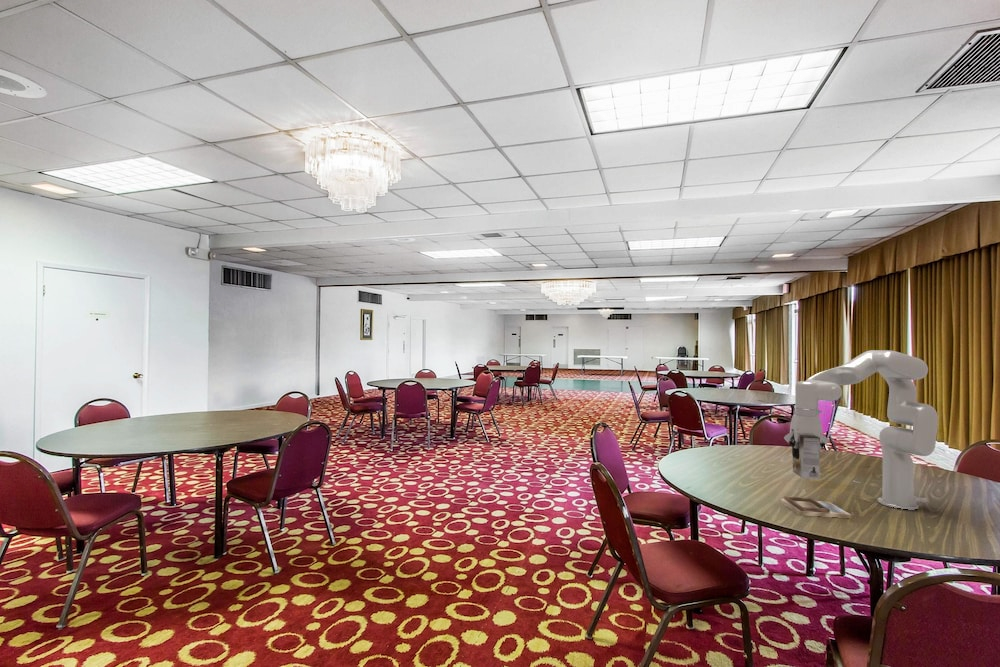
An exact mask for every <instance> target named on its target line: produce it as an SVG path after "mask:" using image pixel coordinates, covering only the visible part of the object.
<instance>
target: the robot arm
mask: <svg viewBox="0 0 1000 667" xmlns="http://www.w3.org/2000/svg"><path fill="white" fill-rule="evenodd" d="M928 372H929V367H928V364H927V363H926V362H925V361H924V360H922V359H921V358H919V357H915V356H912V355H909V354H905V353H902V352H899V351H895V350H888V349H887V350H882V349H881V350H877V349H876V350H875V349H872V350H867V351H864V352H862V353H861V354H859V355H857V356H855V357H854V358H852V359H850V360H849V361H847V362H845V363H844V364H842V365H840V366H839V365H838V366H836V367H833V368H829V369H826V370H823V371H820V372H817V373H816V374H813V375H812V376H810V377H809V378H807V379H806V380H805V381H804V380H800V381H799V380H798V381H797V382H795V408H794V410H795V411H794V412H795V413H794V414H793V415H792V417H791V420H790V427H789V433H787V434H786V435H784V437H783V439H784V440H785V441H786V442H787V443H788V444H789V446H790V447H791V449H792V450H791V456H792V458H793V457H794V458H796V459H799V449H798V446H799V442H800V435H806V436H818V437H820V451H821V450H822V448H824V447H825V446H826V444H828V443H829V442H830V440H829V439H828V437H827V436H825V435H824V434H823V425H822V421H821V417H819V415H822V414H823V411H822V410H819V401H825V402H834V401H835V402H836V401H837V400H839V399H840V398H841V396H842V395H843V389H842V388H841V386H850V385H855V384H859V383H862V382H863V381H864V380H866V379H868V377H870V376H872V375H873V374H875V373H878V374H879V375H880V376H881V377H882V378H883V379H884V380H885V382H886V383H887V385H888V392H889V393H888V401H887V411H886V412H887V413H886V415H887V419H888V420H889V421H890V422H892V423H896V424H899V425H905V426H909V427H913V429H910V428H907V427H906V428H905V427H900V426H887V427H884V428H882V429H881V430H880V432H879V435H878V437H879V439H878V440H879V442H880V446H881V454H882V455H881V456H882V491H881V492H882V493H881V494H882V495H881V497H880V496H879V497H877V502H878V503H879V504H880V505H883V506H886V507H889V508H893V507H894V508H893V509H897V508H901V509H900V510H903V509H908V510H907V511H916V510H915V509H918V508H919V503H920V504H927V503H928V499H927V498H926V497H918V496H916V495H915V494H914V462H913V459H912V456H911V455H913V456H919V457H927V456H930V455H931V454H932V453H933V452H934V450H935V448H936V444H937V437H938V436H937V434H938V427H939V426H938V425H939V415H938V413H937V411H936V409H935V408H934V407H933V406H932V405H930V404H926V403H922V402H918V401H917V397H918V396H917V394H918V393H917V392H918V390H917V389H918V388H917V386H916V385H915V383H914V382H913V381H919V380H922V379H924V378H925V377H926V376H927V375H928ZM918 510H919V509H918Z"/></svg>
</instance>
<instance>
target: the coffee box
mask: <svg viewBox="0 0 1000 667" xmlns="http://www.w3.org/2000/svg"><path fill="white" fill-rule="evenodd" d="M798 449H799V459H796V458H794V457H793V456H792V472H793V473H795V474H796V475H797V476H799V477H800V478H801V479H812V480H820V464H821V463H820V462H821V461H820V460H821V450H820V437H818V436H806V435H800V442H799V446H798Z"/></svg>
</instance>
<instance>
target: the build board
mask: <svg viewBox="0 0 1000 667" xmlns="http://www.w3.org/2000/svg"><path fill="white" fill-rule="evenodd" d="M783 497H784V498H780V503H781V504H782V505H784V506H785V507H787V508H788V509H790V510H791V511H792V512H794V513H795V514H797V515H798V516H801V517H802V516H806V517H817V516H821V517H820V518H832V517H838V518H837V519H847V518H851V519H852V514H850V513H849V512H847V511H845V510H844V509H842V508H840V507H839V506H837V505H835V504H833V503H832V502H830V501H826V500H825V501H821V500H815V499H813V498H812V497H799V496H783Z"/></svg>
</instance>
